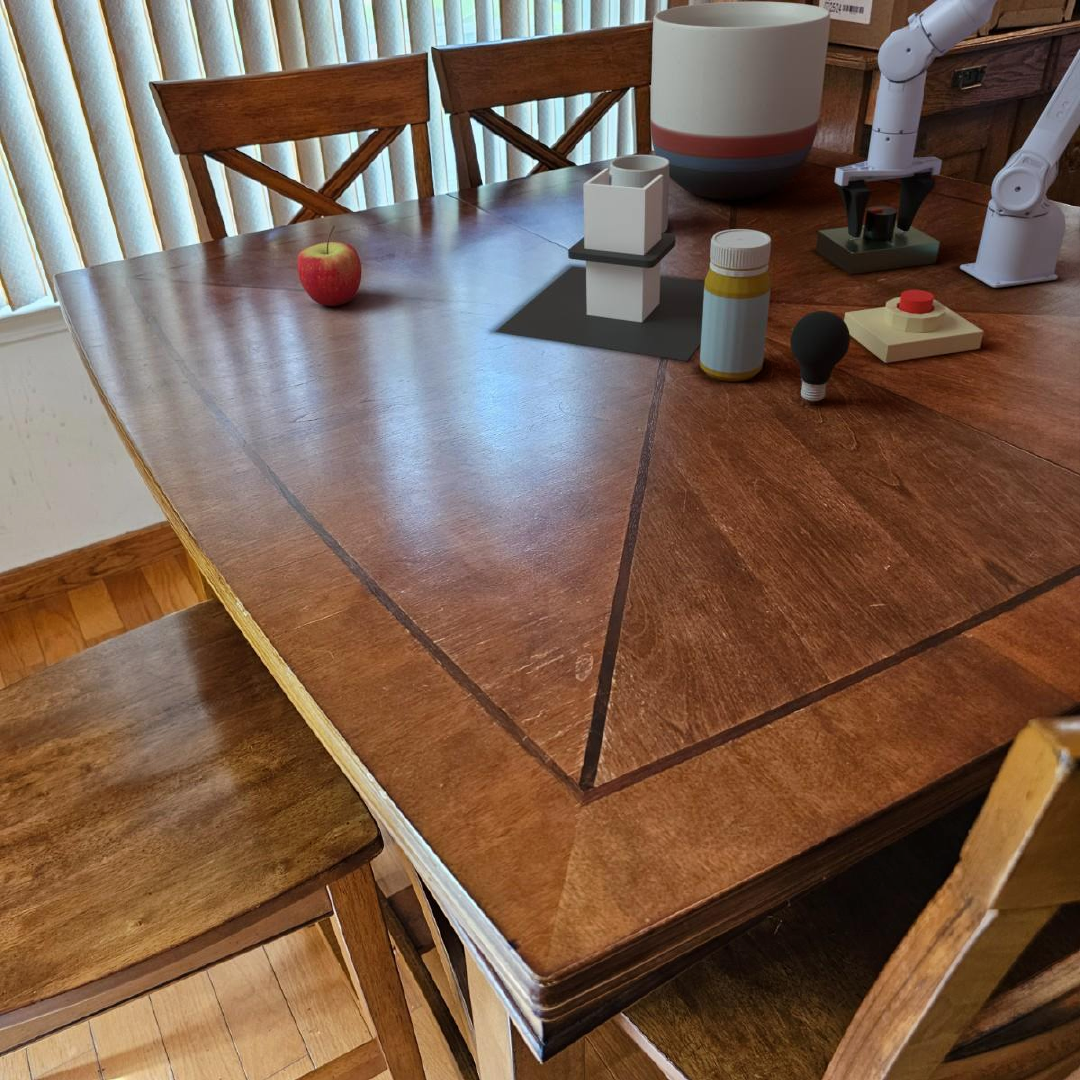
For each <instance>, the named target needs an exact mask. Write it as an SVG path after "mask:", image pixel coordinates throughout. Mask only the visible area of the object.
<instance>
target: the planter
mask: <svg viewBox="0 0 1080 1080" xmlns="http://www.w3.org/2000/svg"><path fill="white" fill-rule="evenodd" d="M652 22H653V24H652V42H651V43H652V45H651V46H652V49H651V52H652V53H651V82H650V83H651V85H650V122H649V123H650V136H651V137H650V138H651V142H652V147H653V151H654V156H659V157H663V158H666V159H667V160H668V161H669V163H670V166H669V179H671V180H672V181H673V182H674V183H675V184H677V185H678V186H679V187H681V188H682V189H683V190H686V191H688V192H689V193H691V194H694V195H696V196H699V197H703V198H708V199H713V200H722V201H737V200H746V199H752V198H756V197H760V196H762V195H766V194H768V193H770V192H772V191H774V190H776V189H777V188H780V187H781V186H782V185H784V184H785V183H787V182H788V181H789V180H790V179H792V177H794V175H796V174H797V173H798V172H799V171H800V169H801V168H802V167H803V165H805V163H806V161H807V159H808V157H809V155H810V154H811V151H812V148H813V146H814V144H815V143H814V142H815V139H816V136H817V132H818V126H819V120H820V112H821V105H822V97H823V88H824V80H825V71H826V69H825V68H826V62H827V61H826V59H827V51H828V43H829V37H830V36H829V35H830V25H831V24H830V23H831V12H830V11H829V10H828V9H826V8H824V7H821V6H817V5H812V4H807V3H797V2H785V1H722V2H720V1H719V2H706V3H697V4H688V5H680V6H675V7H670V8H667V9H663V10H660V11H658V12H657V13H655V14H654V15H653V21H652Z"/></svg>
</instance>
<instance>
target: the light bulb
mask: <svg viewBox="0 0 1080 1080" xmlns="http://www.w3.org/2000/svg"><path fill="white" fill-rule="evenodd" d="M789 341H790V349H791V352H792V355H793V356H794V359H796V360H797V363H798V366H799V373H800V378H801V389H800V395H801V397H802V398H803V399H804V400H806V401H807V402H808V403H809V404H815V403H817V402H819V401H821V400H822V399H824V398H825V397H826V391H827V390H826V389H827V383H828V382H829V380H830V378H831V375H832V373H833V370H834V369H835V367H836V366H837V364H839V363H840V362H841V361H842V360H843V359H844V358H845V356H846V355H847V353H848V351H849V348H850V344H851V335H850V333H849V330H848V327H847V325H846V323H845V322H844V319H843V318H842V317H841V316H839V315H837V314H836V313H834V312H831V311H828V310H827V311H825V310H816V311H812V312H810V313H807V314H805V315H804V316H803V317H801V318H800V319H799V320H798V321H797V323H796V324H795V325H794V327H793V328H792V331H791V334H790V339H789Z"/></svg>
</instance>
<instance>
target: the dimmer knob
mask: <svg viewBox="0 0 1080 1080" xmlns="http://www.w3.org/2000/svg"><path fill="white" fill-rule="evenodd" d="M897 217H898V210H897V209H896V208H894V207H891V206H886V205H875V206H870V207H868V208H866V211H865V217H864V218H865V219H864V224H863V225H864V232H863V236H864V237H865V238H868V239H872V240H888V239H891V238H892V237H893V234H894V228H895V222H896V221H897Z"/></svg>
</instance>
